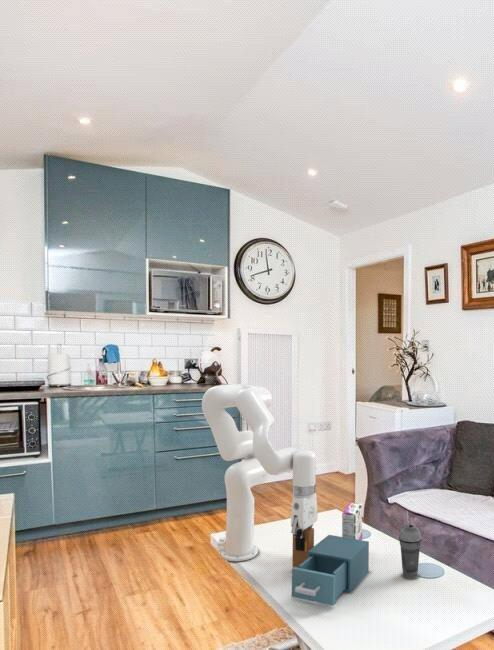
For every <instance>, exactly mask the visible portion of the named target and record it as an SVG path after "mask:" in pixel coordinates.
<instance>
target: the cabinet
mask: <svg viewBox="0 0 494 650" xmlns="http://www.w3.org/2000/svg"><path fill="white" fill-rule="evenodd" d="M312 555H316V556H321V557H326V558H332V559H337V560H342V561H347V562H348V586H347V587H346V589H345V590H344V591H343V592H345V593H349V594H350V593H352V592H353V590H355V588H356V587H357V586H358V585H359V583H360V582H361V581H362V580H363V579H364V578H365V577H366V575H368V573H369V572H370V571H369V570H370V567H369V565H370V561H369V560H370V558H369V557H370V541H368V540H363V539H362V540H357V539H351V538H345V537H342V536H338V535H332V534H328V535H327V536H325V537H324V538H323V539H321V540H320V541H319V542H318V543H316V544H314V547H313V548H311V549H310V550H309V551H308V558H309V557H310V556H312Z"/></svg>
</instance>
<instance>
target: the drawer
mask: <svg viewBox="0 0 494 650" xmlns="http://www.w3.org/2000/svg"><path fill="white" fill-rule="evenodd" d="M347 586H348V562H347V561H342V560H337V559H332V558H326V557H321V556H316V555H312V556H310V557H309V558H308V559H307V560H305V561H304V562H303V563H302V564H301V565H299V568H297V567H293V568H292V567H291V597H292V598H298V599H300V600H301V599H302V600H306V601H309V602H314V603H317V604H321V605H322V604H323V605H327V606H332V607H334V606H335V604H336V599H338V597H339V596H340V595H341V594H342V593H343V592H344V590H345V589H346V587H347Z"/></svg>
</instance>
